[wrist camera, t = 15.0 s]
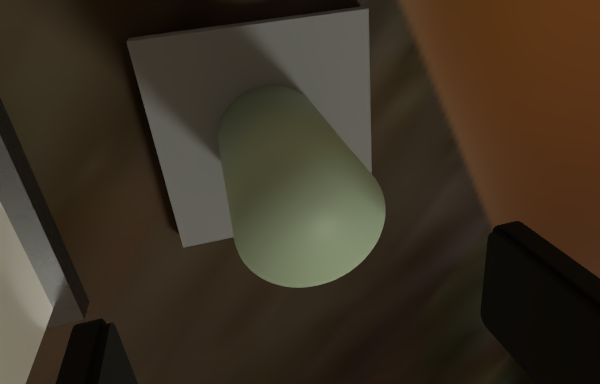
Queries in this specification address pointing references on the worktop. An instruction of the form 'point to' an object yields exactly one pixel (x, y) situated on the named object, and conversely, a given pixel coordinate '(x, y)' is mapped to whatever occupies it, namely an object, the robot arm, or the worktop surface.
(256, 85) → the slate mat
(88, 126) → the worktop surface
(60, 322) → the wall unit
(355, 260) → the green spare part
